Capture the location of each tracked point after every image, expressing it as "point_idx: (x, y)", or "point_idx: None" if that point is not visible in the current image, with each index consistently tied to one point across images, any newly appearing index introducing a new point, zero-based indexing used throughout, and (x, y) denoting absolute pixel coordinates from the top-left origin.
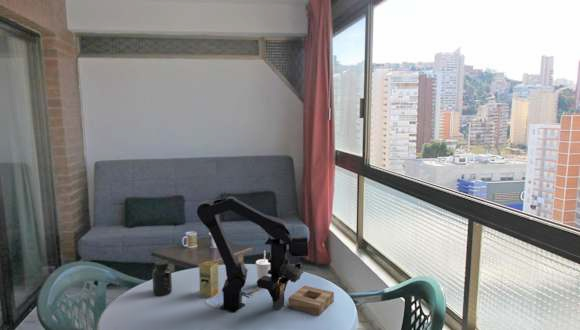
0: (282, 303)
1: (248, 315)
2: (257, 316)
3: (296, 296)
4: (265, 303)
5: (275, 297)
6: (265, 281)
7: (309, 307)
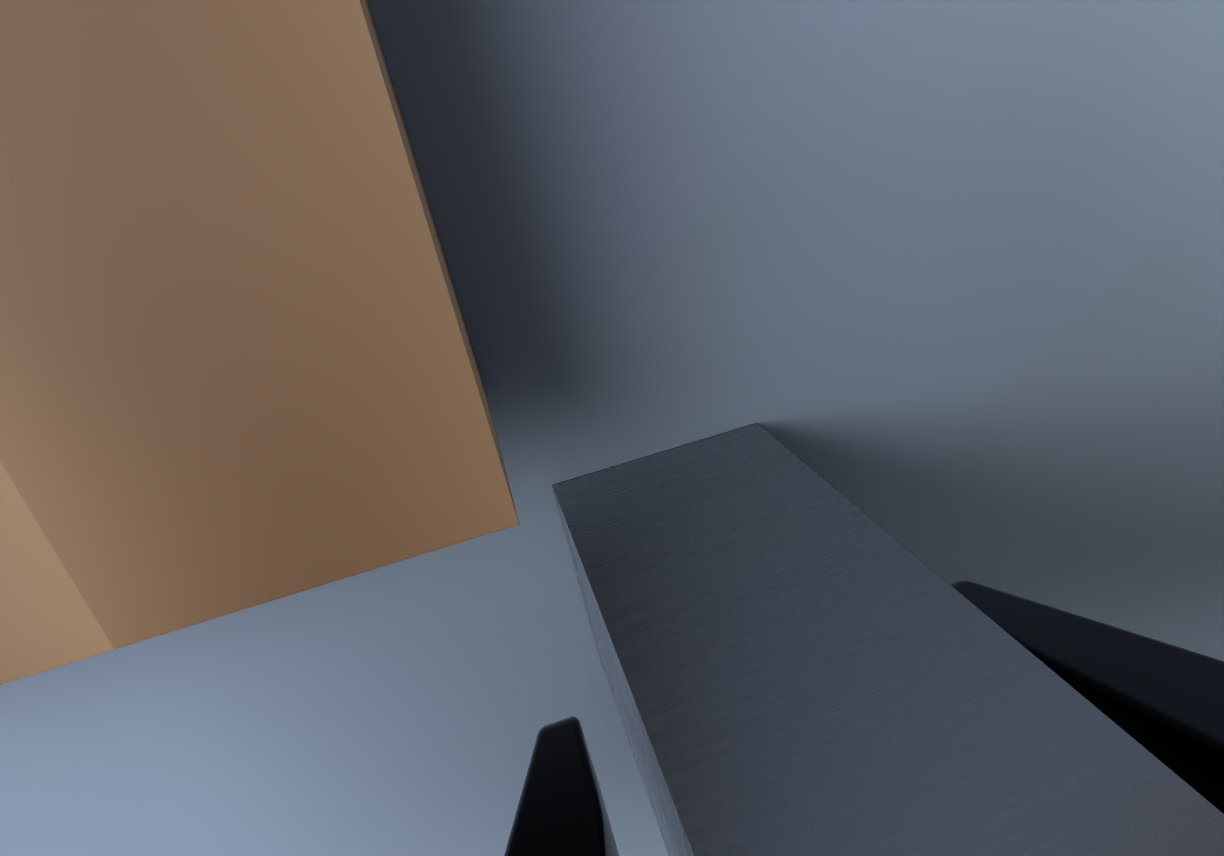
0: (668, 515)
1: (1214, 627)
2: (1187, 510)
3: (158, 363)
4: None
5: (1147, 659)
6: None
7: None
